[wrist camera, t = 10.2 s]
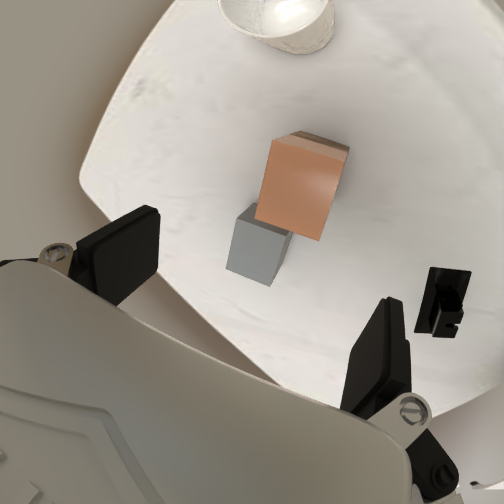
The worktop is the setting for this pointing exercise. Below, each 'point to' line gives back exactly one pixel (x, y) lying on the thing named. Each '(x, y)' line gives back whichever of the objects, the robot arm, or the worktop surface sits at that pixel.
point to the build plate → (442, 302)
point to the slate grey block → (257, 248)
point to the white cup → (283, 22)
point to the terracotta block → (299, 185)
